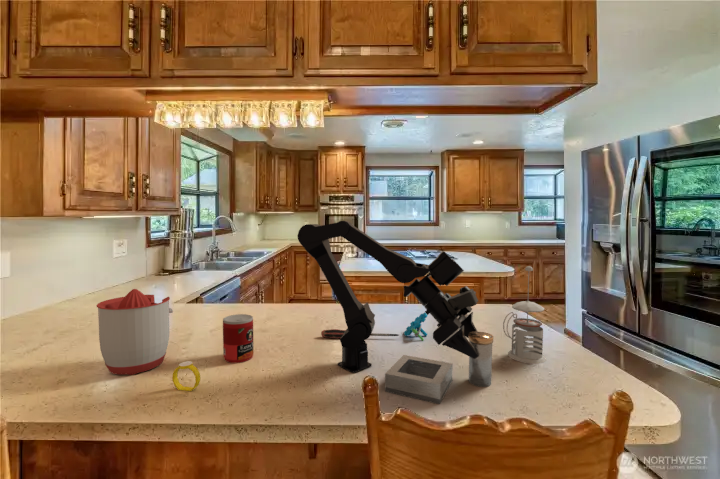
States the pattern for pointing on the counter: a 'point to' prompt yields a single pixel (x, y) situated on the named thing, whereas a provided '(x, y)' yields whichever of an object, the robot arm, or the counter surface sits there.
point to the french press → (526, 333)
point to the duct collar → (419, 378)
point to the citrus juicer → (133, 332)
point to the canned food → (238, 338)
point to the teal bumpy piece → (416, 326)
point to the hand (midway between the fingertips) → (479, 350)
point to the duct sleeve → (481, 359)
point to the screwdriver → (338, 333)
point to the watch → (185, 366)
